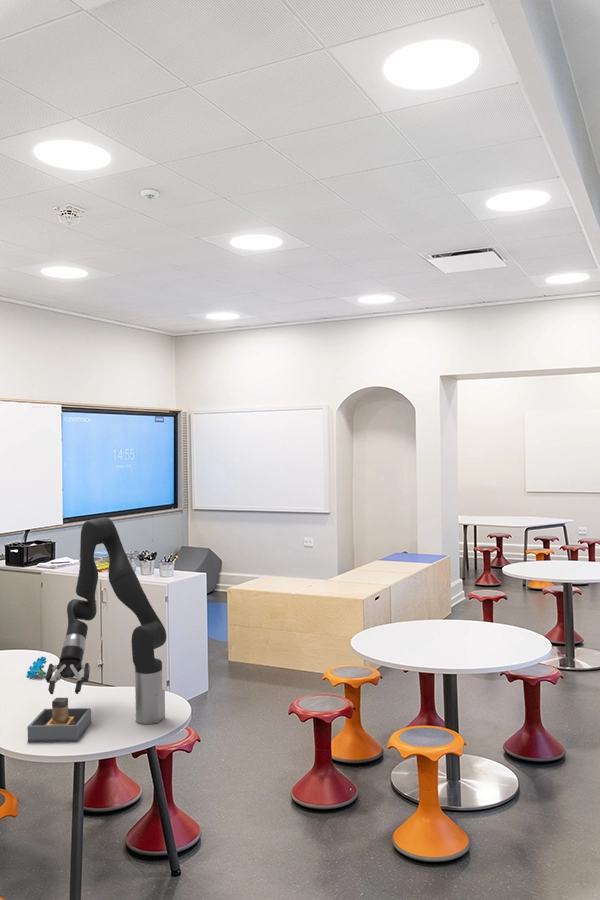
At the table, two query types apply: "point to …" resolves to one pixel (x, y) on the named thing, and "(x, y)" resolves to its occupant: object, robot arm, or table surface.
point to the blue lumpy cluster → (37, 668)
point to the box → (59, 726)
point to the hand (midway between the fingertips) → (63, 693)
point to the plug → (60, 711)
